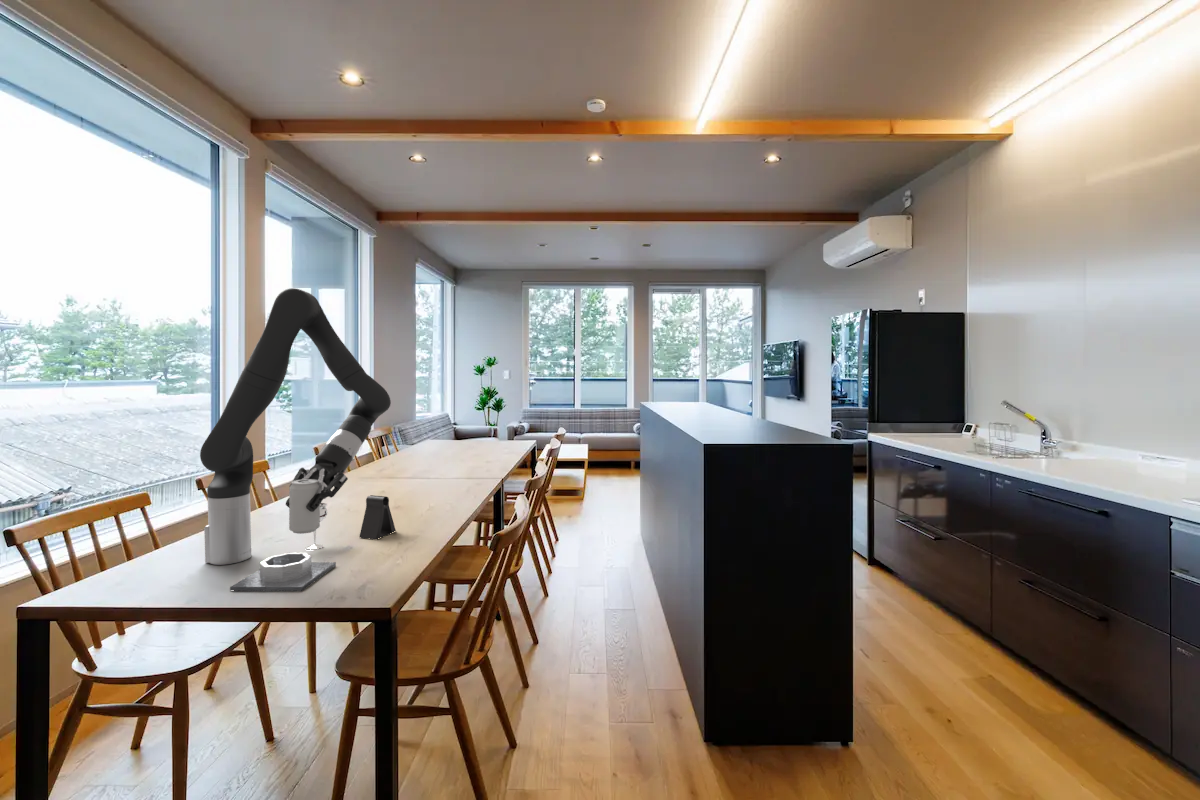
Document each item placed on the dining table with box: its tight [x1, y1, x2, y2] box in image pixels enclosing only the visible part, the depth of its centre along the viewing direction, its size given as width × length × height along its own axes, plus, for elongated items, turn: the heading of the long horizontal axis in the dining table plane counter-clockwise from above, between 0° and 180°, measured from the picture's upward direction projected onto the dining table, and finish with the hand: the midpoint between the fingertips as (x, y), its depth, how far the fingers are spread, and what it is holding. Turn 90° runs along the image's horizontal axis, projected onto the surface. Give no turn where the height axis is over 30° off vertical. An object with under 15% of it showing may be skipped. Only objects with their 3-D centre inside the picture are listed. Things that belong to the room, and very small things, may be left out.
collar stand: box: [229, 552, 337, 592], centre depth 129 cm, size 16×16×4 cm
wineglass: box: [307, 502, 329, 551], centre depth 152 cm, size 7×7×12 cm
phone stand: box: [359, 495, 397, 540], centre depth 164 cm, size 9×6×12 cm, turn 162°
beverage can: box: [288, 479, 321, 535], centre depth 127 cm, size 6×6×12 cm
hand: (299, 508), depth 126 cm, fingers closed on beverage can, 6 cm apart
